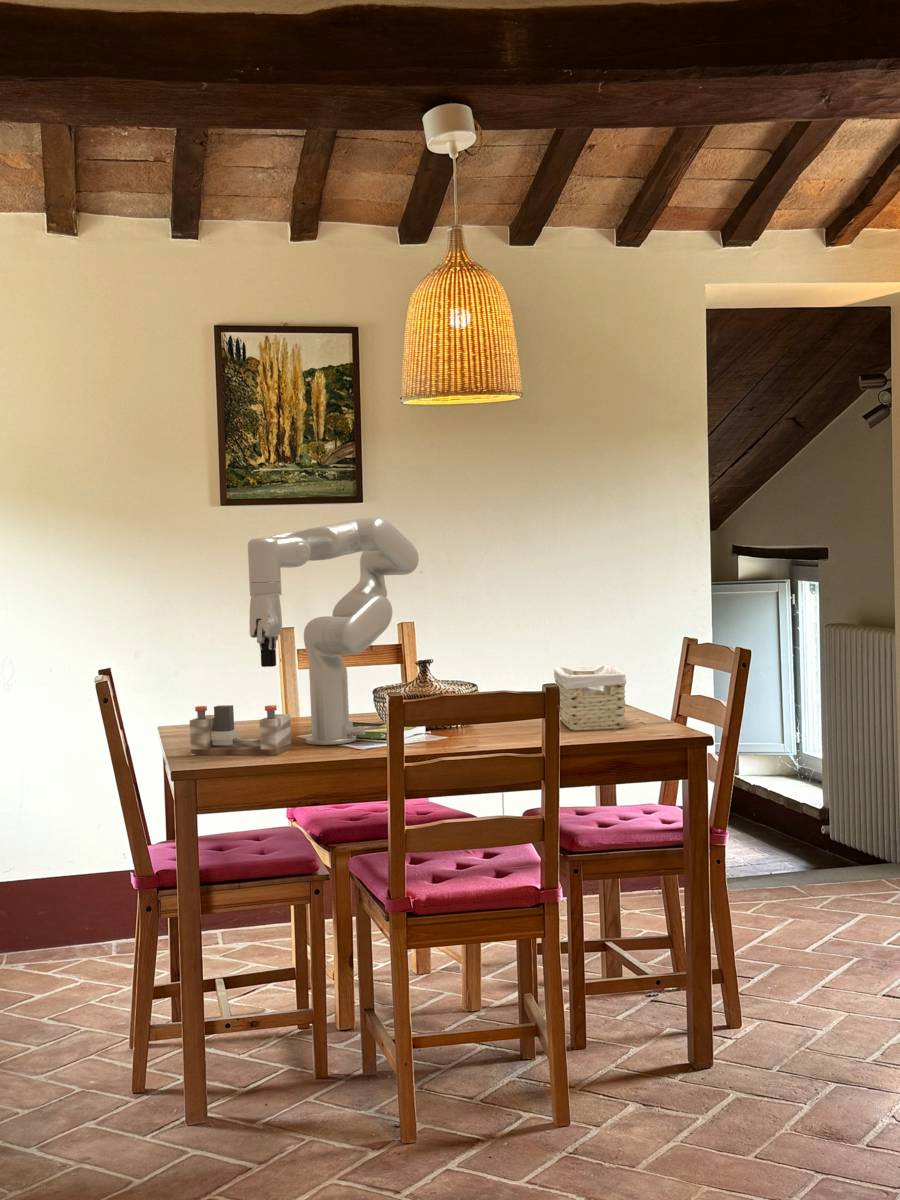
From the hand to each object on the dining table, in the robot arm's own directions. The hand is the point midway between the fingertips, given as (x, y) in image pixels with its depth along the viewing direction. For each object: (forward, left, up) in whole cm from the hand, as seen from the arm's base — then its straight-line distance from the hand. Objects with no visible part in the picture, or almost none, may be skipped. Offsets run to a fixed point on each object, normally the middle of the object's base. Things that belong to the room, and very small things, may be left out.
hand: (268, 666), depth 310 cm
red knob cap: (0, 0, -13) cm, 13 cm away
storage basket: (-71, -48, -21) cm, 88 cm away
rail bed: (+9, -3, -21) cm, 23 cm away
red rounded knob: (+18, 0, -13) cm, 22 cm away
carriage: (+13, -3, -19) cm, 23 cm away
